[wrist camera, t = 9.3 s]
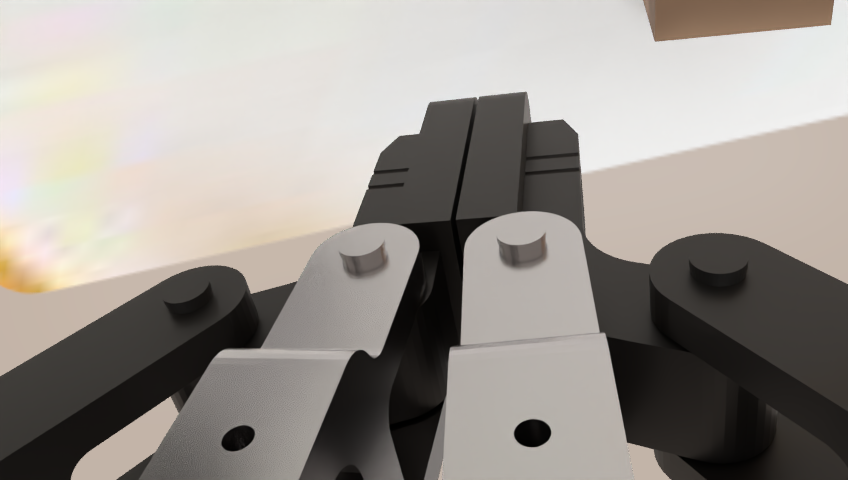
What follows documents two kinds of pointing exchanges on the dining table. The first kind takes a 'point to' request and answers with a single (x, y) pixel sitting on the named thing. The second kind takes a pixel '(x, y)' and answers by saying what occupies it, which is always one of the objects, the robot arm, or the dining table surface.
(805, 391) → the robot arm
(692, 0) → the mount
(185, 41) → the dining table surface
